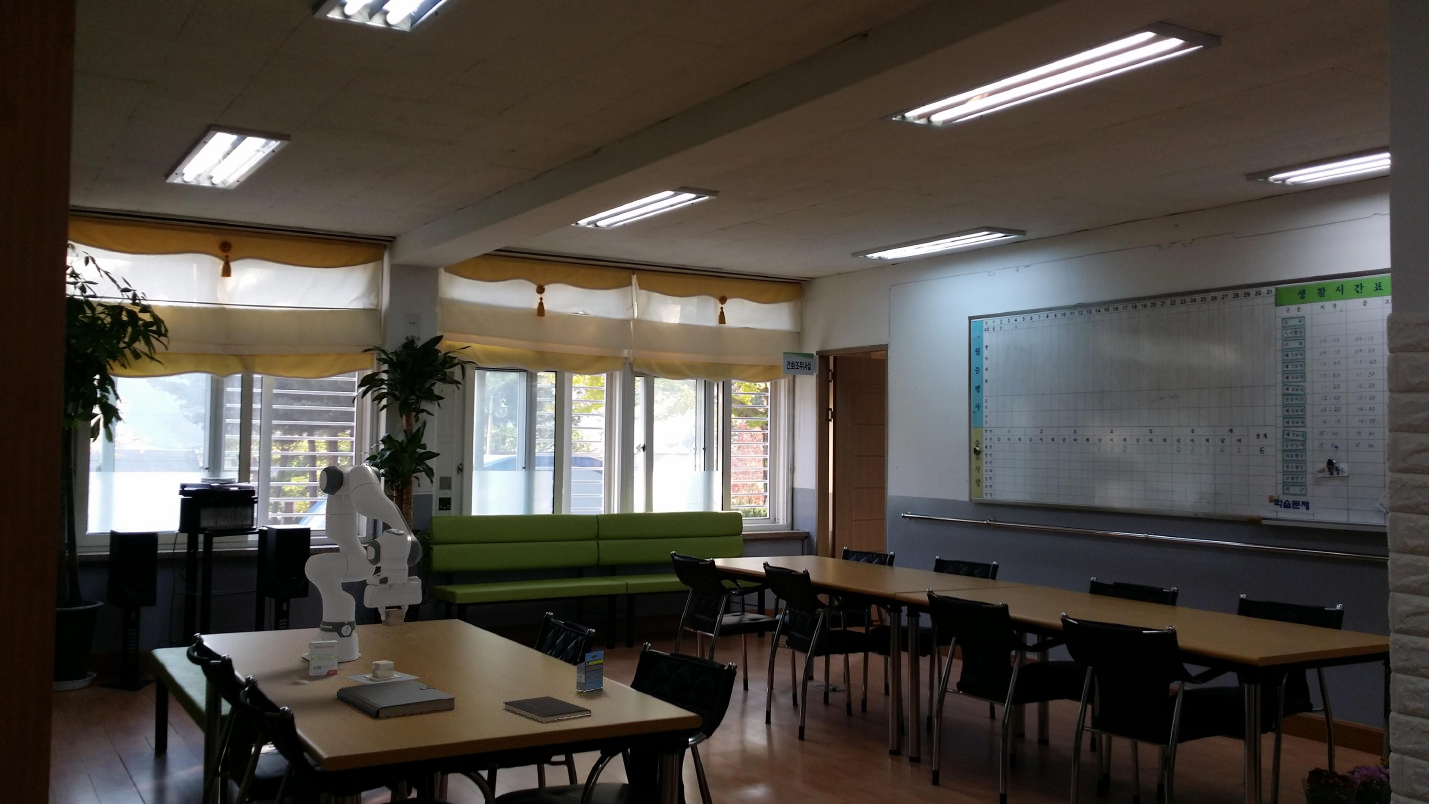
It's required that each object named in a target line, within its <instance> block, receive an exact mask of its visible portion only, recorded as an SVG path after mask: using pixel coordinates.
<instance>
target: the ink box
mask: <svg viewBox="0 0 1429 804" xmlns="http://www.w3.org/2000/svg"><path fill="white" fill-rule="evenodd" d="M338 663H339V662H338V642H337V641H336V640H334V641H312V642H311V646H310V660H309V671H308V674H309V676H311V677H315V676H316V677H317V676H333V675H338V666H339V664H338Z"/></svg>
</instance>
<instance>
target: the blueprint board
mask: <svg viewBox="0 0 1429 804" xmlns="http://www.w3.org/2000/svg"><path fill="white" fill-rule="evenodd" d="M344 678H346V679H349V680H353V681H355V682H361V683H364V684H366V685H368V684H376V683H384V682H392V681H405V680H417V679H421V677H419V676H416V675H411V674H408V673H405V672H404V673H403V672H401V671H400V672H399V671H396V670H394V676H393V677H390V678H382V679H377V678H373V677H372V672H371V673H365V674H358V675H351V676H350V675H349V676H344Z"/></svg>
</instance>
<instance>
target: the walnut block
mask: <svg viewBox="0 0 1429 804" xmlns="http://www.w3.org/2000/svg"><path fill="white" fill-rule="evenodd" d="M384 612H385V614H386V615H388V617H387V618H388V620H381V621H382V624H381V625H382V626H385V627H400V626H404V622H405V620H404V619H405V618H404V610H402V609H401V608H399V609H398V608H392V609H385V610H384Z"/></svg>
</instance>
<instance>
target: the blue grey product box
mask: <svg viewBox="0 0 1429 804" xmlns="http://www.w3.org/2000/svg"><path fill="white" fill-rule="evenodd" d="M604 654H605V653H604V649H602V650H598V651H593V652H588V653H585V660H584V661H583V662H581V663H578V664H577V665H576V682H575V683H576V687H575V688H576V689H577V690H583V691H586V690H591V689H596V688H601V687H603V688H604ZM594 656H595V657H594ZM576 689H575V690H576Z"/></svg>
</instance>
